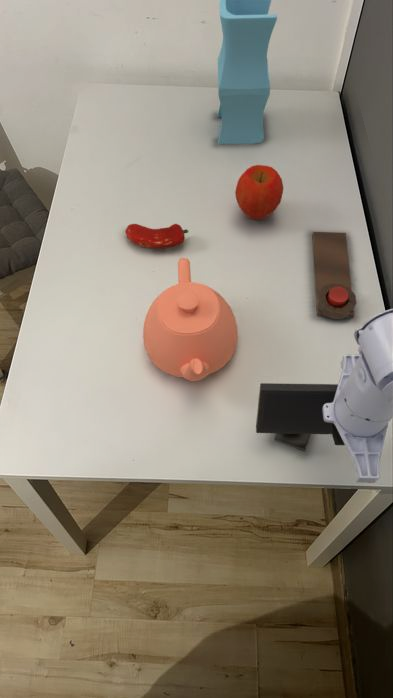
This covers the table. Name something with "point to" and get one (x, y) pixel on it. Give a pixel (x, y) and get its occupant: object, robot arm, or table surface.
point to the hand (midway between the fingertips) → (342, 439)
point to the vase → (244, 69)
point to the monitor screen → (293, 408)
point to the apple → (259, 191)
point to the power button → (337, 296)
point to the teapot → (189, 329)
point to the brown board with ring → (332, 273)
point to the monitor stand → (293, 440)
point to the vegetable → (156, 236)
